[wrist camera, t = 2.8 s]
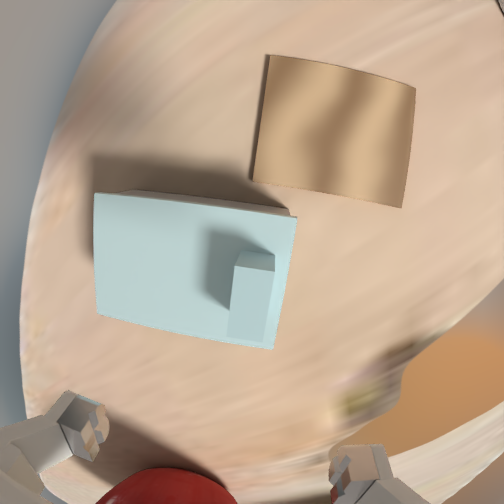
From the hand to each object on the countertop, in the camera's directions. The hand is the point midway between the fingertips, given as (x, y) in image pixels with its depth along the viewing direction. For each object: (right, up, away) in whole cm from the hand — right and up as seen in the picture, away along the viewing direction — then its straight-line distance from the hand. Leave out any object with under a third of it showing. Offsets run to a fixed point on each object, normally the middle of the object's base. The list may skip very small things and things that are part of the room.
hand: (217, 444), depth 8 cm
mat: (+9, +17, +16) cm, 25 cm away
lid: (-4, +5, +15) cm, 16 cm away
